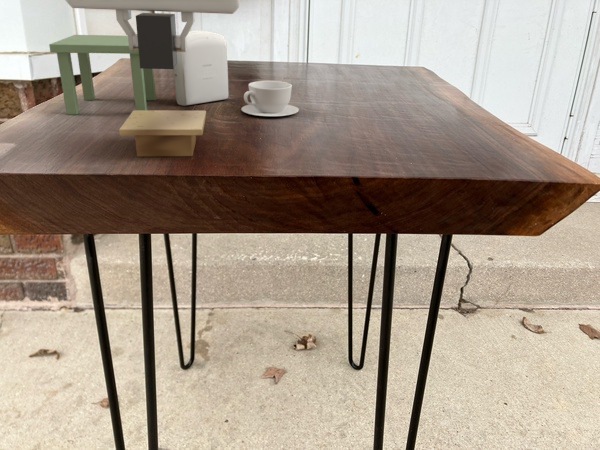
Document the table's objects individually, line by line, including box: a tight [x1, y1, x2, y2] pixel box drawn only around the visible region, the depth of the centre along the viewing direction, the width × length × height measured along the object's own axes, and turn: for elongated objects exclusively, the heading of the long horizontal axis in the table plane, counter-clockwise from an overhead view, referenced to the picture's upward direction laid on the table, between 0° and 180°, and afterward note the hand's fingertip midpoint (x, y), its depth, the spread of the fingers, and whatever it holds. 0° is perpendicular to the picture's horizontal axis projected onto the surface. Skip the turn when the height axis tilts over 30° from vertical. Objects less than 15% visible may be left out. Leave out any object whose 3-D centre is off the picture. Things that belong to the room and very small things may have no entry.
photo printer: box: [173, 29, 229, 107], centre depth 95 cm, size 10×4×12 cm, turn 133°
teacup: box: [240, 80, 300, 117], centre depth 91 cm, size 10×10×5 cm
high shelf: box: [48, 34, 157, 116], centre depth 90 cm, size 14×14×11 cm
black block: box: [135, 12, 178, 70], centre depth 65 cm, size 4×5×6 cm
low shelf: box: [118, 109, 207, 158], centre depth 70 cm, size 10×10×4 cm
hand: (158, 50), depth 66 cm, fingers closed on black block, 4 cm apart
